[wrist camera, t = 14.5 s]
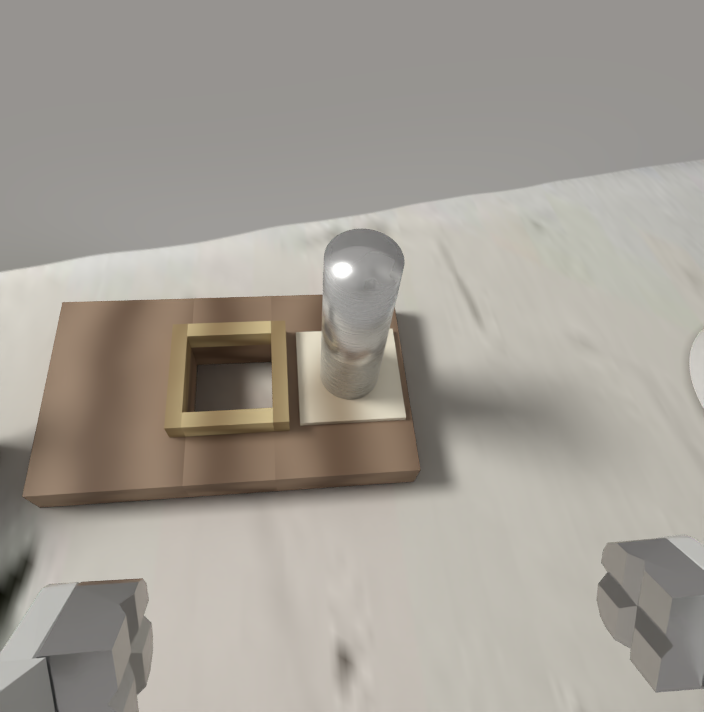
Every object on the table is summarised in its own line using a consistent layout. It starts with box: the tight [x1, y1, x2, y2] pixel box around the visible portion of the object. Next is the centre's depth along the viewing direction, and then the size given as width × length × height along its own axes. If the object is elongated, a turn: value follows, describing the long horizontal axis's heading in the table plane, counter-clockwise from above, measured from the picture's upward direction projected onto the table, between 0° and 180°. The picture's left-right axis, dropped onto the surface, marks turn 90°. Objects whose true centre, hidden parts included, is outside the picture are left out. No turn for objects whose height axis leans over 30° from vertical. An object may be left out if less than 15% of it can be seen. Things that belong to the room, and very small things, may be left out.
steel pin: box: [320, 229, 404, 400], centre depth 32 cm, size 4×4×12 cm
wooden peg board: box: [22, 295, 420, 508], centre depth 37 cm, size 24×14×4 cm, turn 95°
